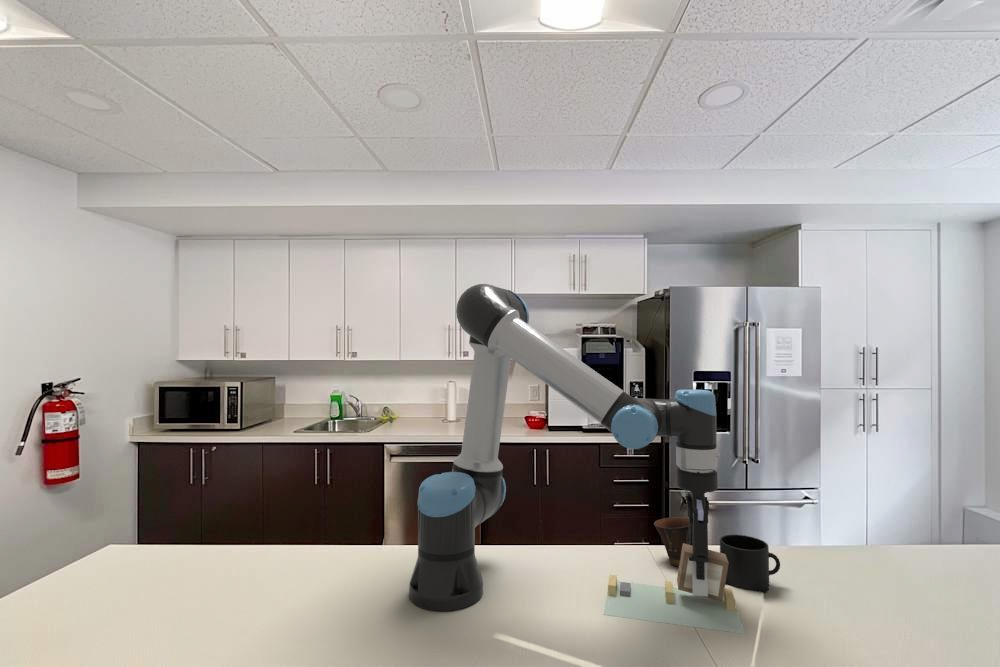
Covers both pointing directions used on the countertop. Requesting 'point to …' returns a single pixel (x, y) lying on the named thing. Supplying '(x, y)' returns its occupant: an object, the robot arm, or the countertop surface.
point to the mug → (748, 562)
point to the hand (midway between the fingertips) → (698, 588)
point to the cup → (673, 536)
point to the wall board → (671, 606)
